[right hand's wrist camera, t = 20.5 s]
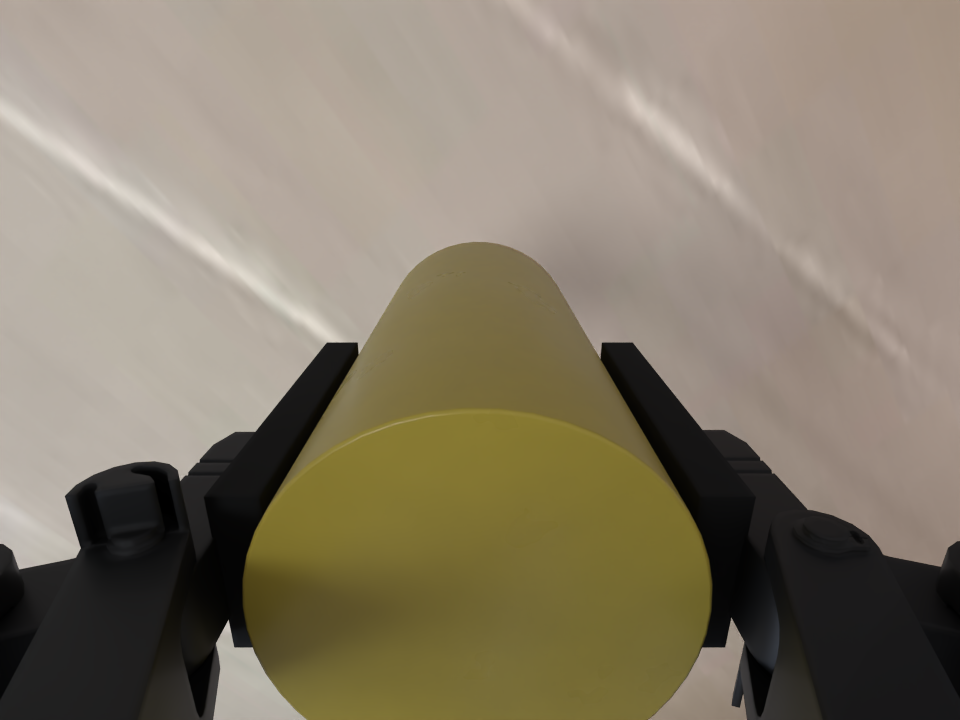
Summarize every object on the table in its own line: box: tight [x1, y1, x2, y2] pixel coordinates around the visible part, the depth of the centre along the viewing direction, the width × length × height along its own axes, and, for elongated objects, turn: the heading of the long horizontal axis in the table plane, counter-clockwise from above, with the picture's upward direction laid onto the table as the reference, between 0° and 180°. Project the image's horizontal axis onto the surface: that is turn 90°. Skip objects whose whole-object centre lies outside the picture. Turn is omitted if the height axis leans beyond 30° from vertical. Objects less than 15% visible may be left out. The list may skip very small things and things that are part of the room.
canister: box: [243, 242, 712, 720], centre depth 13 cm, size 6×6×12 cm
